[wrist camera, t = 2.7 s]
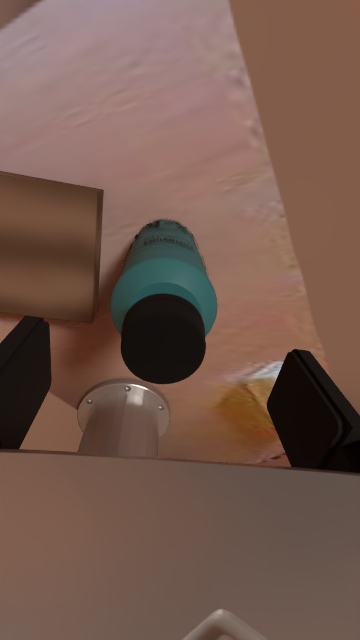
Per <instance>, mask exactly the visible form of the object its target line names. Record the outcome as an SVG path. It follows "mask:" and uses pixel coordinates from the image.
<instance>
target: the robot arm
mask: <svg viewBox="0 0 360 640" xmlns="http://www.w3.org/2000/svg"><path fill="white" fill-rule="evenodd" d="M50 386H51V355H50V331H49V323H48V322H44V319H43V318H41V317H33V316H25V317H24V318H23V319H22V320H21V321H20V322H19V323H18V324H17V325H16V327H15V328H14V329H13V330H12V331H11V332H10V333H9V334H8V335H7V336H6V338H5V339H4V340H3V341H2V342H1V343H0V640H360V416H359V414H358V413H357V412H356V410H355V409H354V408H353V407H352V405H351V404H350V403H349V401H348V400H347V399H346V398H345V397H344V395H343V394H342V392H341V391H340V390H339V389H338V387H337V386H336V385H335V383H334V382H333V381H332V380H331V378H330V377H329V376H328V374H327V373H326V372H325V370H324V369H323V368H322V367H321V365H320V364H319V363H318V361H317V360H316V359H315V358H314V356H313V355H312V354H311V352H309V351H306V350H298V349H294V350H292V351H291V352H289V353H288V354H287V355H286V358H285V360H284V363H283V365H282V367H281V370H280V372H279V375H278V377H277V379H276V382H275V384H274V386H273V389H272V391H271V394H270V396H269V398H268V401H267V409H268V412H269V414H270V417H271V419H272V422H273V424H274V426H275V429H276V431H277V433H278V436H279V438H280V441H281V443H282V445H283V448H284V450H285V453H286V455H287V457H288V460H289V462H290V464H291V467H282V466H269V465H256V464H243V463H229V462H215V461H201V460H187V459H172V458H158V440H159V439H160V438H161V437H162V436H163V435H164V433H165V432H166V430H167V428H168V425H169V421H170V411H169V406H168V403H167V401H166V400H165V398H164V397H163V396H162V395H161V394H160V392H159V391H157V390H156V389H154V388H153V387H151V386H149V385H147V384H145V383H142V382H139V381H135V380H128V379H117V380H111V381H107V382H104V383H101V384H99V385H97V386H95V387H93V388H92V389H91V390H89V391H88V392H87V393H86V394H85V396H84V397H83V398H82V401H81V403H80V405H79V409H78V414H77V416H78V423H79V426H80V428H81V429H82V431H83V432H84V433H83V436H82V440H81V443H80V446H79V450H78V452H63V451H44V450H22V449H19V448H20V446H21V444H22V442H23V440H24V438H25V436H26V434H27V432H28V430H29V428H30V426H31V424H32V422H33V420H34V418H35V416H36V414H37V412H38V410H39V409H40V407H41V405H42V403H43V401H44V399H45V397H46V395H47V393H48V391H49V389H50Z"/></svg>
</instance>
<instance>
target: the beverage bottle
mask: <svg viewBox="0 0 360 640" xmlns="http://www.w3.org/2000/svg"><path fill="white" fill-rule="evenodd" d="M156 220H157V219H156ZM156 220H155V221H154V222H152V223H149V224H148V225H146V226H145V227H143V228H142V230H141V229H140V230H141V231H140V233H139V234H138V235H136V236H135V239H136V240H135V242H134V244H133V247H132V249H131V251H130V254H129V256H128V258H127V257H126V258H127V260H124V261H126V263H124V264H125V265H123V266H124V268H123V271H122V274H120V275H121V276H120V278H119V280H118V281H117V283H116V285H115V287H114V289H113V292H112V296H111V302H110V311H111V316H112V320H113V322H114V325H115V327H116V328H117V330H118V332H119V333H120V334H121V354H122V357H123V360H124V362H125V364H126V366H127V367H128V369H129V370H130V371H131V372H132V373H133V374H134V375H135V376H137V377H138V378H140V379H142V380H144V381H147V382H150V383H155V384H170V383H175V382H179V381H181V380H184V379H186V378H187V377H189V376H190V375H192V374H193V373H194V372H195V371H196V370H197V369H198V368H199V366H200V365H201V363H202V361H203V359H204V355H205V350H206V343H205V337H206V335H207V334H208V333H209V331H210V330H211V328H212V326H213V324H214V322H215V319H216V315H217V298H216V294H215V291H214V288H213V286H212V284H211V282H210V280H209V278H208V276H207V273H206V268H205V265H204V264H205V263H204V264H203V261H204V260H203V261H202V259H201V257H200V254H199V252H198V250H199V249H197V247H196V244H195V242H194V239H193V238H194V237H192V236H193V235H191V234H192V232H190V233H191V234H190V233H189V231H188V230H189V229H188V230H187V229H186V228H187V227H183V226H182V225H181V224H179V223H177V222H174V221H170V220H167V219H166V220H164V219H163V220H162V219H161V220H158V221H156ZM197 245H198V244H197ZM131 246H132V244H131ZM130 248H131V247H130ZM129 250H130V249H129ZM203 259H204V258H203ZM207 269H208V268H207Z"/></svg>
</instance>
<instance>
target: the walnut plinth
mask: <svg viewBox="0 0 360 640" xmlns="http://www.w3.org/2000/svg"><path fill="white" fill-rule="evenodd" d="M103 191H104V190H102V189H96V188H91V187H85V186H80V185H74V184H69V183H63V182H57V181H52V180H46V179H41V178H35V177H30V176H24V175H19V174H13V173H8V172H2V171H0V312H4V313H12V314H20V315H28V316H36V317H44V318H52V319H60V320H68V321H76V322H84V323H92V322H93V320H94V318H95V316H96V313H97V311H98V292H99V271H100V251H101V231H102V211H103Z"/></svg>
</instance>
